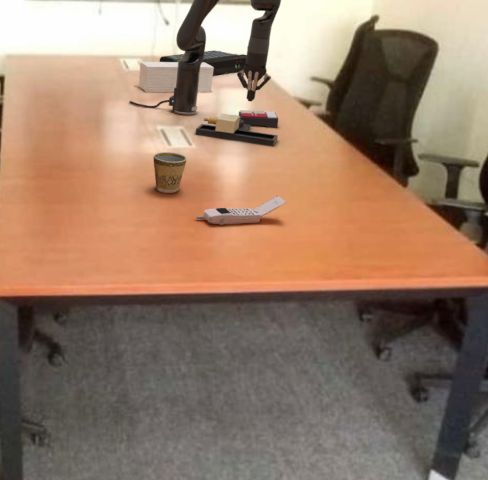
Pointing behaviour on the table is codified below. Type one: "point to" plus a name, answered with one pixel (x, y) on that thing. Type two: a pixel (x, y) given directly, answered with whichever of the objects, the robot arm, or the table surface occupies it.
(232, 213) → the mobile phone
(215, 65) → the computer keyboard
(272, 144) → the rail
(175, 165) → the ceramic cup
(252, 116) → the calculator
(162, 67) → the stack of papers
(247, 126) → the button box
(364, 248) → the table surface
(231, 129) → the nozzle carriage
